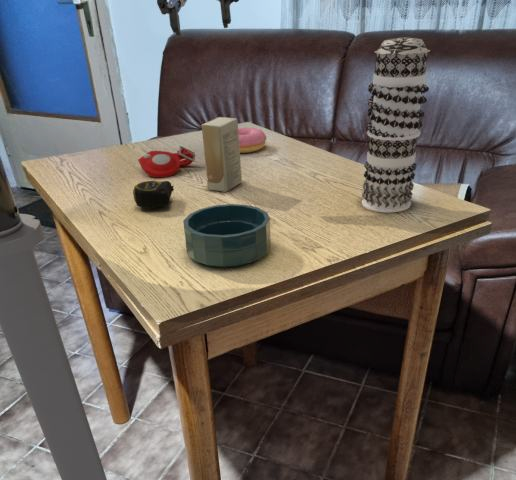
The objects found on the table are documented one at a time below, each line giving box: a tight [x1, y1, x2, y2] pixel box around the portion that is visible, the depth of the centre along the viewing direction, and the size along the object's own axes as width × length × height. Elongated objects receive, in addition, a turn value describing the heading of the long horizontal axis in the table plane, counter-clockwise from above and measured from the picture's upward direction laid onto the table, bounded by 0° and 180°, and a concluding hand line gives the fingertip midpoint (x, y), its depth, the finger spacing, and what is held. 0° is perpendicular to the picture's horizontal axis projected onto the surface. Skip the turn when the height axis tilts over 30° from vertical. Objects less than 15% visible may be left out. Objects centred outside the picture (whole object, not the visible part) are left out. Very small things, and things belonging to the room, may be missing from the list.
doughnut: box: [238, 127, 267, 154], centre depth 123 cm, size 11×11×4 cm
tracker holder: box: [138, 145, 197, 178], centre depth 112 cm, size 12×4×10 cm
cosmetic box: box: [201, 116, 243, 193], centre depth 98 cm, size 6×4×12 cm
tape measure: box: [132, 180, 175, 209], centre depth 93 cm, size 7×7×4 cm
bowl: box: [183, 203, 272, 268], centre depth 76 cm, size 12×12×5 cm
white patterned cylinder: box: [361, 37, 431, 214], centre depth 83 cm, size 9×9×25 cm
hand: (201, 29), depth 90 cm, fingers open, 8 cm apart
